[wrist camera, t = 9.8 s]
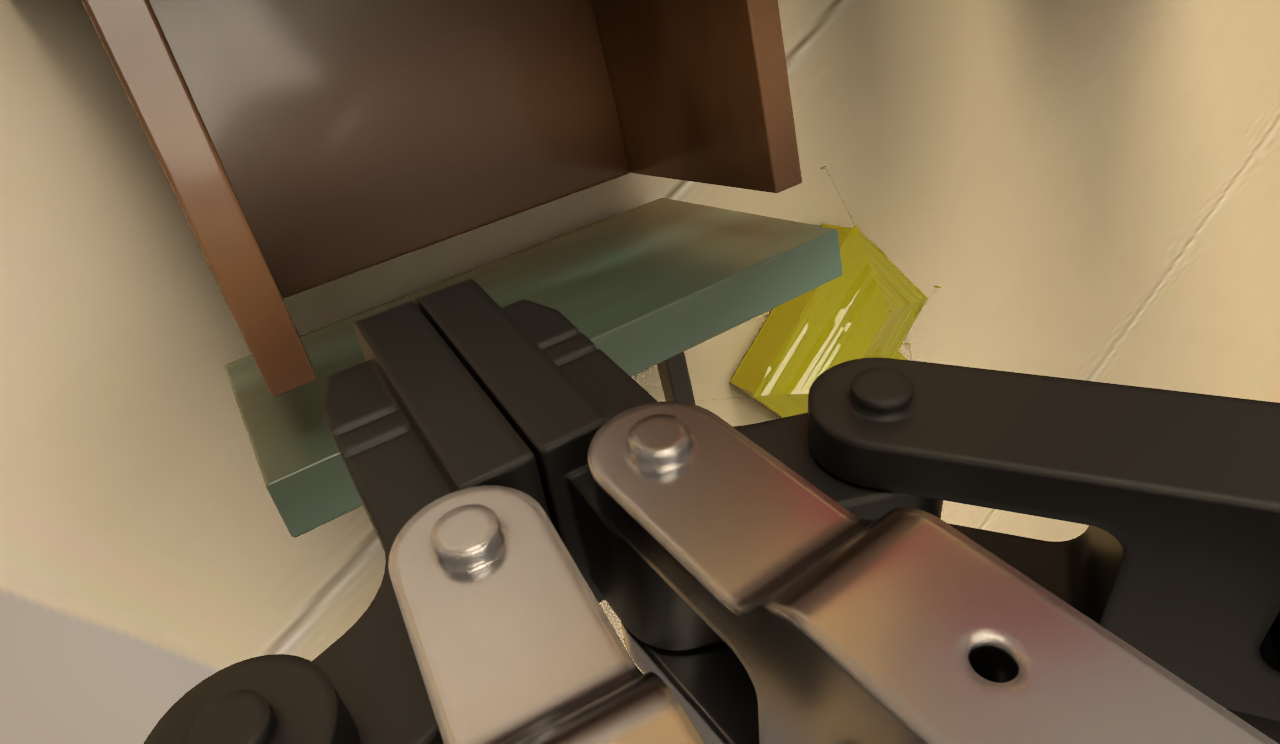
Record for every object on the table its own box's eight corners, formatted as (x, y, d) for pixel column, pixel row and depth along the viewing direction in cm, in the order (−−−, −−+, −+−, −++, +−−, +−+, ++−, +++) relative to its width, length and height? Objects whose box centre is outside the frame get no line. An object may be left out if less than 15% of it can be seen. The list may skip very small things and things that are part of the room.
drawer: (700, 377, 28) (865, 456, 22) (324, 565, 23) (397, 742, 17) (560, -281, 20) (757, -458, 14) (-70, -220, 15) (-221, -460, 9)
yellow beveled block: (820, 165, 30) (879, 170, 27) (939, 288, 35) (996, 302, 32) (681, 399, 29) (728, 425, 27) (822, 488, 34) (872, 516, 32)
